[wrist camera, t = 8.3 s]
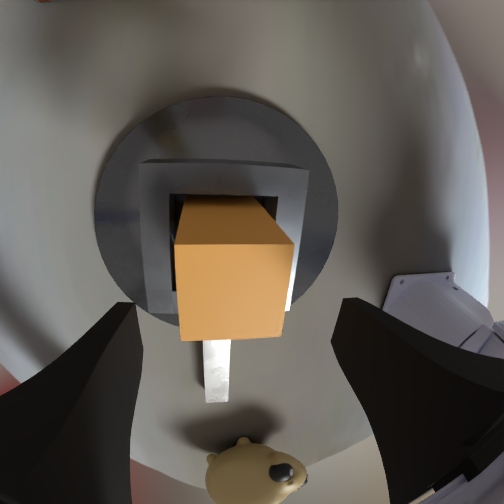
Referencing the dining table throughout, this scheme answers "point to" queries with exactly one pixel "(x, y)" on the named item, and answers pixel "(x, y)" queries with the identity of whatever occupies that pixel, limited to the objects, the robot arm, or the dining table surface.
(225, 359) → the grey piece
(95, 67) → the dining table surface
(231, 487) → the tan rounded figure
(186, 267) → the orange rectangular block
